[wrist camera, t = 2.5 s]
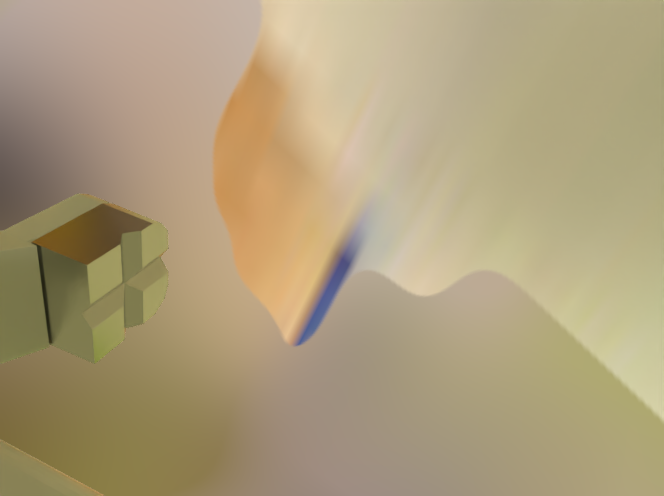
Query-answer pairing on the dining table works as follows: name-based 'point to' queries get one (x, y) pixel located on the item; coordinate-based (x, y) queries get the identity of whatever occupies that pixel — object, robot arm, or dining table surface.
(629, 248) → the dining table surface
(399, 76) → the dining table surface
